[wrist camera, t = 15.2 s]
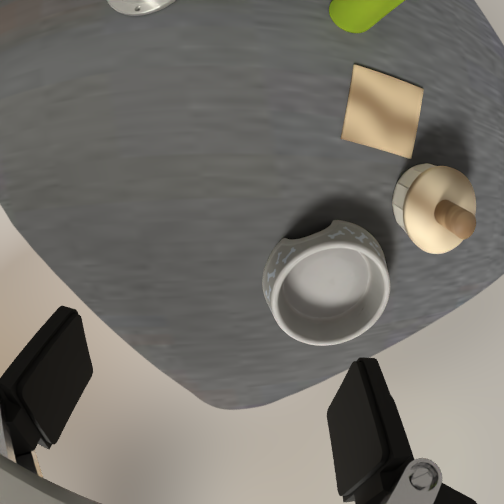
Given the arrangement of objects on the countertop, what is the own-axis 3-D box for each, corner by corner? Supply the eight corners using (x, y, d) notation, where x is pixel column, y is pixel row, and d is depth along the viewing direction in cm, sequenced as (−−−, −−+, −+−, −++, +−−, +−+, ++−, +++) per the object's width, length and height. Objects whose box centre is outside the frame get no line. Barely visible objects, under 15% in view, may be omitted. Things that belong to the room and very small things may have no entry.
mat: (353, 65, 30) (354, 64, 30) (422, 89, 30) (423, 89, 30) (340, 138, 34) (341, 138, 34) (409, 158, 34) (410, 158, 34)
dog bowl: (393, 303, 44) (405, 323, 39) (285, 341, 47) (287, 364, 42) (371, 203, 38) (385, 216, 33) (243, 250, 41) (240, 269, 36)
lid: (415, 154, 30) (442, 162, 24) (479, 179, 30) (508, 191, 25) (391, 242, 34) (412, 263, 29) (455, 256, 35) (479, 276, 29)
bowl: (402, 154, 34) (418, 159, 30) (459, 175, 35) (477, 182, 30) (383, 228, 38) (395, 240, 34) (440, 241, 39) (455, 253, 35)
